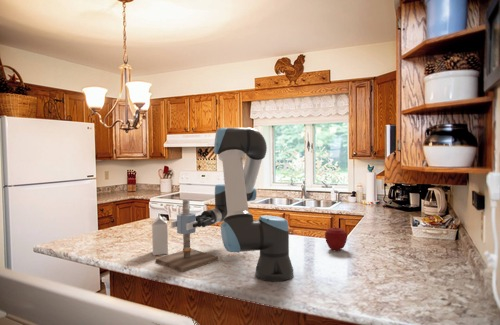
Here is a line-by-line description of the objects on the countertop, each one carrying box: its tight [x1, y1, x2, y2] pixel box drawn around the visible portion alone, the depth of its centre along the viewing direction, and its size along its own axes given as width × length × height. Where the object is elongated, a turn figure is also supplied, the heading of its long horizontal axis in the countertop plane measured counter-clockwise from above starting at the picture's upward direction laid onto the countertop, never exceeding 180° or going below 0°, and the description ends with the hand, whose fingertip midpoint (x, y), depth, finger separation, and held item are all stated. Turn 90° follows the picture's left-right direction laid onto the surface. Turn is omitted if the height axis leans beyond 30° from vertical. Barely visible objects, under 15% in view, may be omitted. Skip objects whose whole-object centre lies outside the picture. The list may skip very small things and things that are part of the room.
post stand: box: [155, 198, 219, 273], centre depth 147 cm, size 20×20×28 cm
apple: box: [324, 226, 348, 252], centre depth 161 cm, size 11×11×12 cm
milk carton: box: [151, 214, 169, 256], centre depth 159 cm, size 7×7×19 cm
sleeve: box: [176, 212, 197, 235], centre depth 147 cm, size 8×8×8 cm
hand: (179, 225), depth 143 cm, fingers closed on sleeve, 8 cm apart
